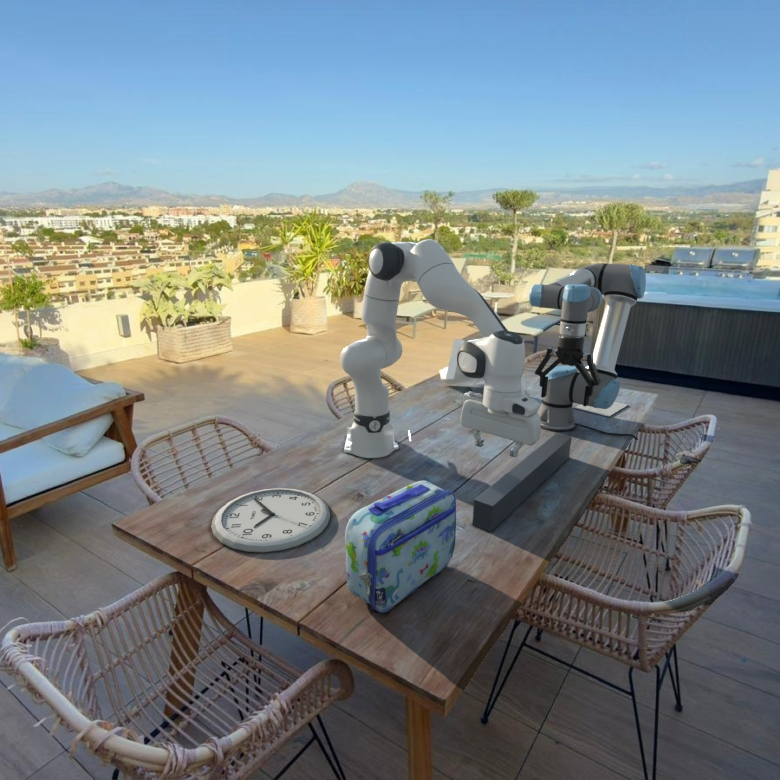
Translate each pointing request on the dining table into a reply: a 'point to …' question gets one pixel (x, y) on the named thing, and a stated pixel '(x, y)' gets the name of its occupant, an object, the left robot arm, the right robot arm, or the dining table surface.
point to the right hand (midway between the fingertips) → (564, 400)
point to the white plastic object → (456, 376)
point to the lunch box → (399, 543)
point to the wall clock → (270, 520)
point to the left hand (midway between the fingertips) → (496, 451)
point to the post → (519, 482)
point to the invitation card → (606, 412)
